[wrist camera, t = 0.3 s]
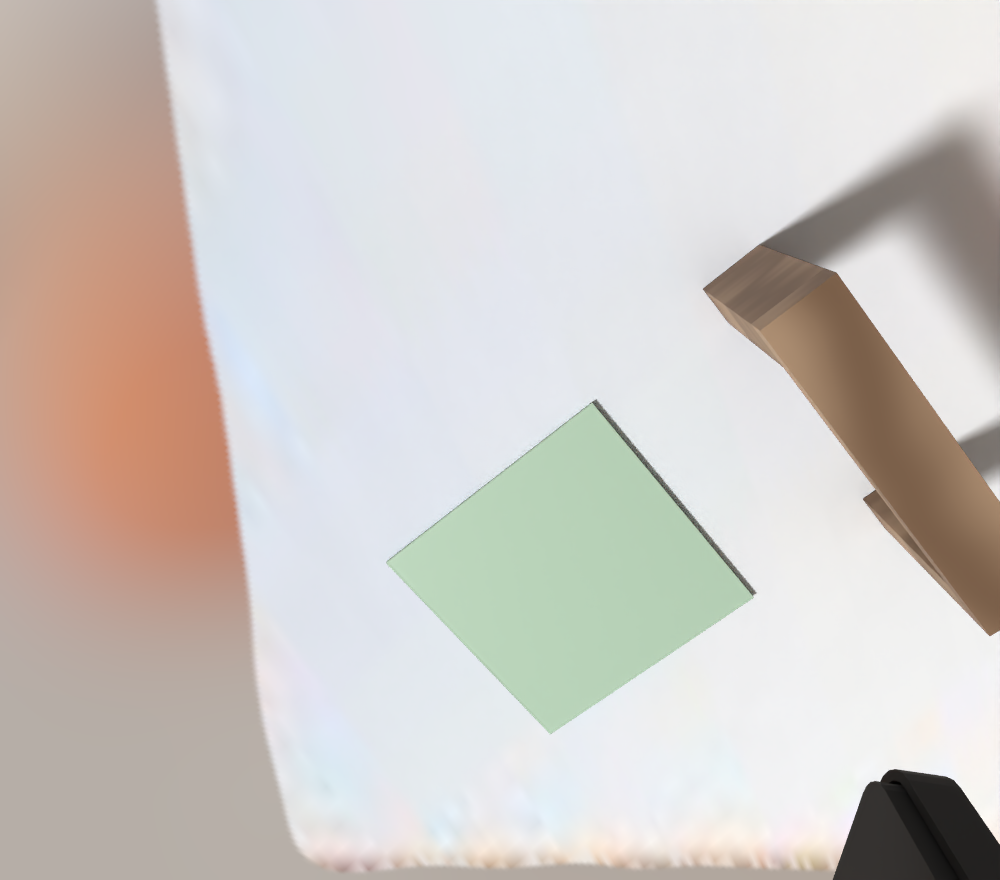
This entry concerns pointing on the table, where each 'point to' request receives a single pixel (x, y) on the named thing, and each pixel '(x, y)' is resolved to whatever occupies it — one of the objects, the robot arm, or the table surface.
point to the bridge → (873, 419)
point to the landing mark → (570, 572)
